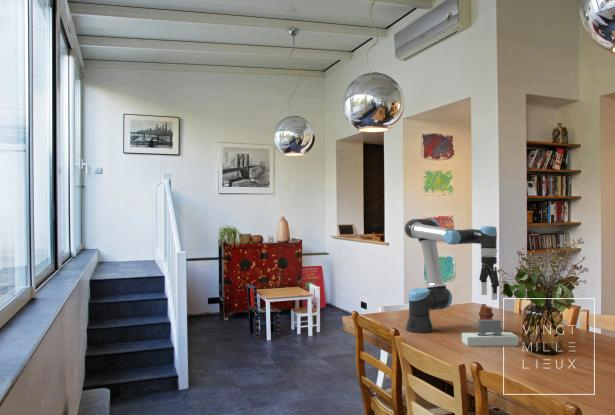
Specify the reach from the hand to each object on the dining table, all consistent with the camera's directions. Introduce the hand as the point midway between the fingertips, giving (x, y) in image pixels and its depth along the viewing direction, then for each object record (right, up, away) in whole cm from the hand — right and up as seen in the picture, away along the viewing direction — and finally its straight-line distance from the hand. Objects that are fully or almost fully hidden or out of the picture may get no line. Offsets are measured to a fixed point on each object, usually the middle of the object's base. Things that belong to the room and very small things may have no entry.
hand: (489, 297), depth 257 cm
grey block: (0, -24, 0) cm, 24 cm away
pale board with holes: (0, -24, 0) cm, 24 cm away
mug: (+7, -24, +24) cm, 35 cm away
